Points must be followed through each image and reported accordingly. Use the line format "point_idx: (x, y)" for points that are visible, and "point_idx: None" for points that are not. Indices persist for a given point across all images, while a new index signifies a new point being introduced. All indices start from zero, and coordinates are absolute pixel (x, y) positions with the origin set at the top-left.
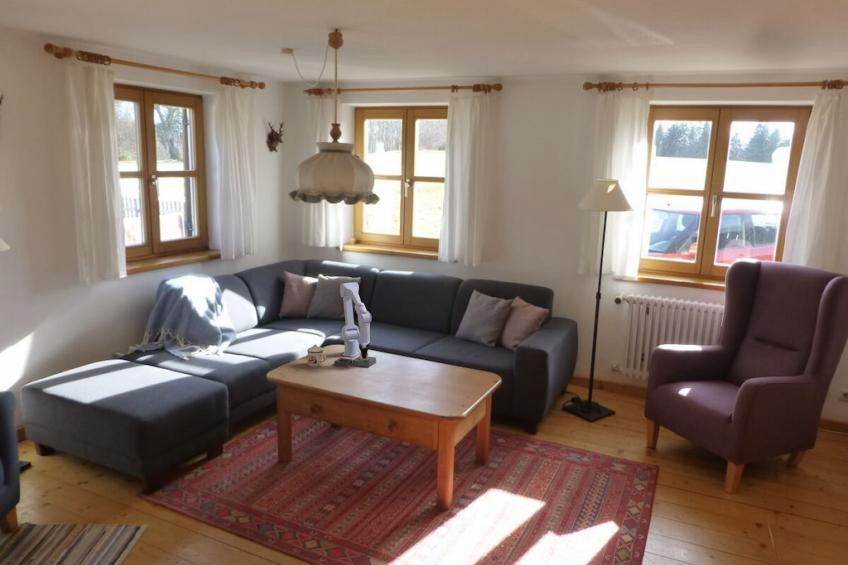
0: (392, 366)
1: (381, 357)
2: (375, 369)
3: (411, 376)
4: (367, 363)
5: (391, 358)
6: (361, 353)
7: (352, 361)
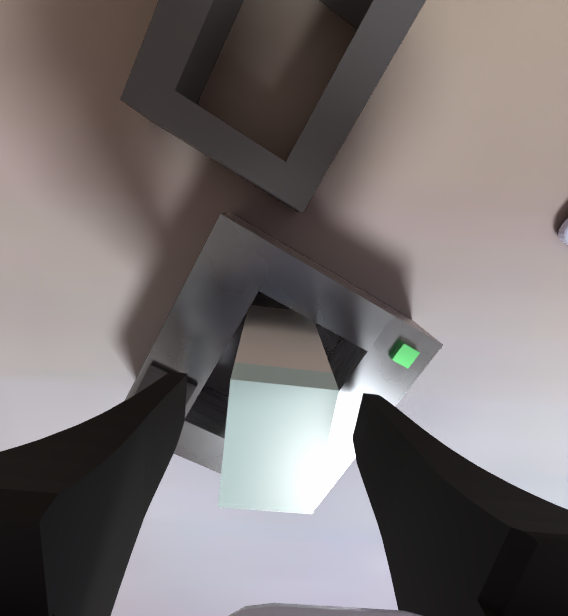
0: (180, 577)
1: None
2: None
3: None
4: None
5: None
6: (106, 414)
7: (298, 211)
